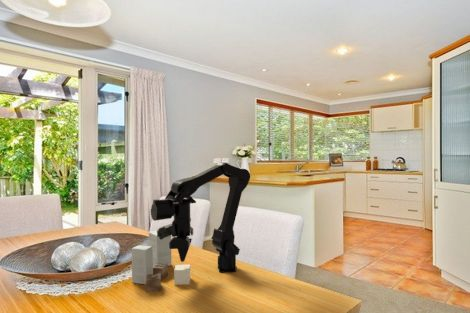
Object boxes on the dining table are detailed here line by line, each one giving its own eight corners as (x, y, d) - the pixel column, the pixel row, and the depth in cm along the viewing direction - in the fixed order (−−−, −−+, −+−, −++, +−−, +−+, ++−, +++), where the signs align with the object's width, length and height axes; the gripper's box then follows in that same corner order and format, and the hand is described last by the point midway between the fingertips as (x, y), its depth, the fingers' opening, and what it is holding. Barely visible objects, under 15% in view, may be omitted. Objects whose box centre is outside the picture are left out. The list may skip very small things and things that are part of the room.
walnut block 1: (167, 274, 111) (167, 263, 111) (162, 279, 107) (162, 267, 107) (156, 273, 112) (156, 262, 112) (150, 278, 108) (150, 267, 108)
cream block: (190, 278, 108) (190, 264, 108) (189, 284, 103) (188, 269, 103) (176, 278, 107) (176, 264, 107) (174, 284, 102) (174, 270, 102)
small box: (171, 265, 120) (171, 232, 120) (156, 269, 116) (156, 235, 116) (162, 260, 127) (162, 229, 127) (148, 263, 123) (148, 231, 123)
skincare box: (153, 280, 106) (153, 246, 106) (146, 285, 102) (145, 249, 102) (139, 277, 108) (138, 244, 108) (131, 282, 104) (130, 248, 104)
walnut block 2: (160, 285, 102) (160, 272, 102) (160, 291, 98) (160, 278, 98) (147, 286, 101) (146, 274, 101) (146, 292, 97) (146, 279, 97)
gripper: (163, 212, 114) (164, 253, 114) (152, 223, 95) (153, 272, 95) (193, 211, 114) (193, 252, 115) (188, 222, 96) (188, 271, 96)
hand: (182, 261), depth 105 cm, fingers closed
